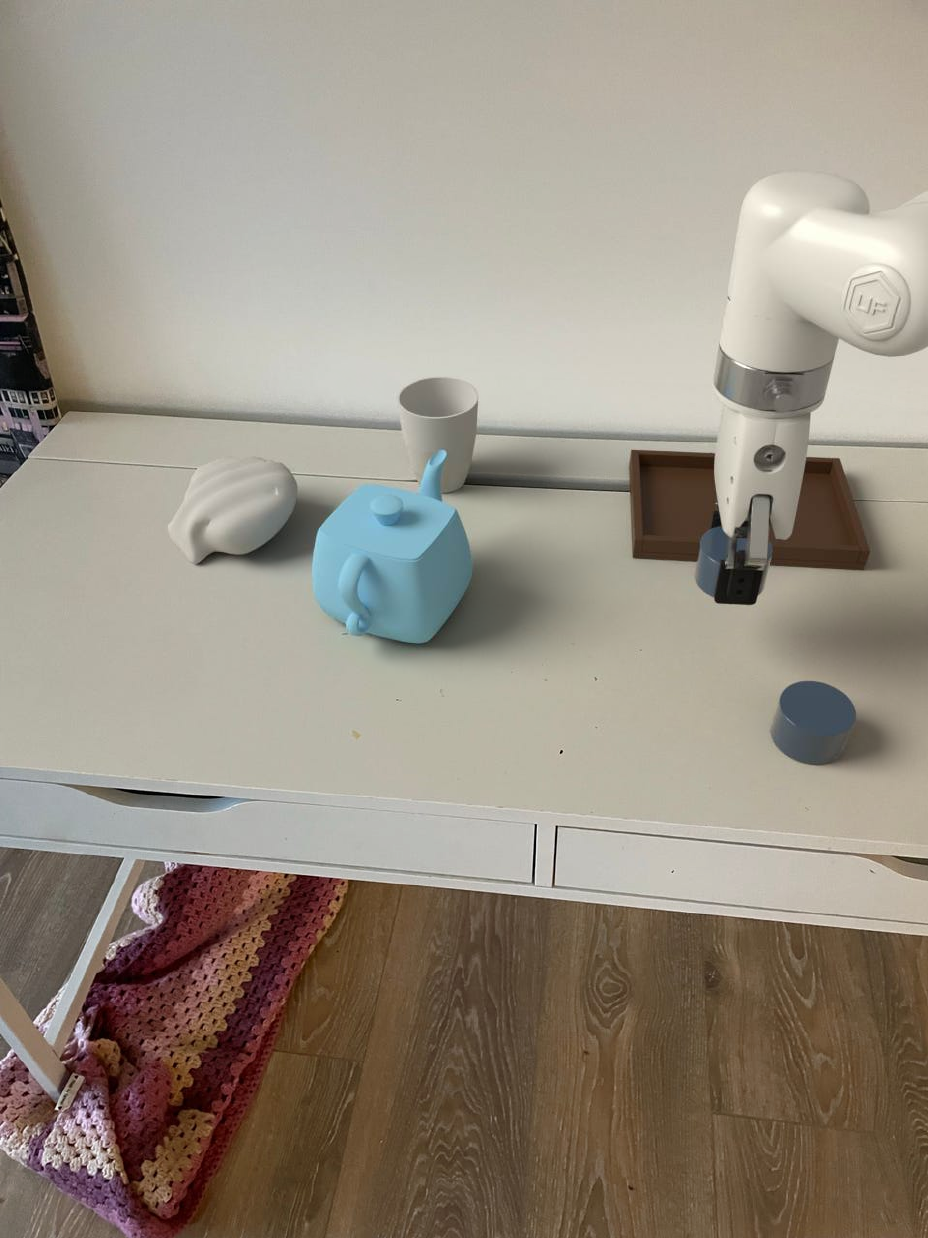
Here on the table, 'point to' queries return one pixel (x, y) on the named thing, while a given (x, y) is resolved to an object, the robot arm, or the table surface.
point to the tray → (685, 500)
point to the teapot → (393, 560)
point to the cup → (439, 426)
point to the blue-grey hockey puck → (812, 722)
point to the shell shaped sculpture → (233, 507)
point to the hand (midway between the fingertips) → (730, 574)
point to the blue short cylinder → (719, 559)
